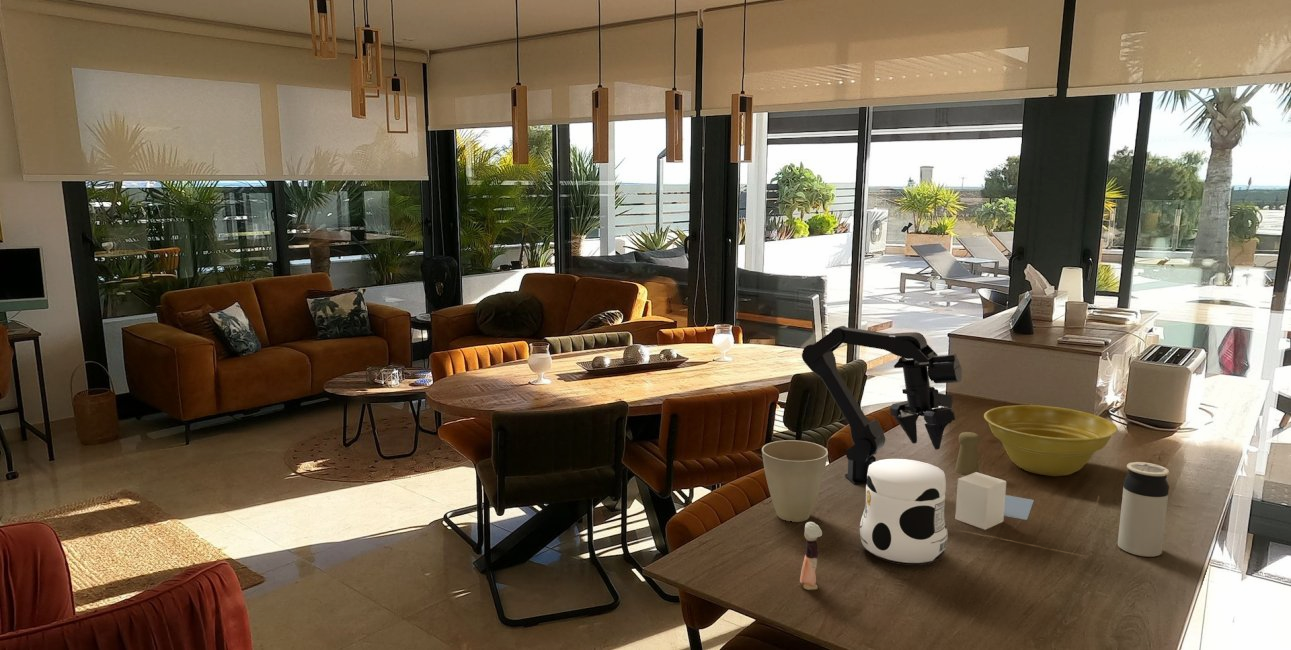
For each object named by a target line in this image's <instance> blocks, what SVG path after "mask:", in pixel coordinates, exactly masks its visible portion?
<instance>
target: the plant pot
mask: <svg viewBox="0 0 1291 650" xmlns="http://www.w3.org/2000/svg"><path fill="white" fill-rule="evenodd" d="M761 454H762V455H761V456H762V461H763V463H762V464H763V468H764V474H765V478H766V482H767V487H768V490H769V494H770V497H771V500H772V504H773V507H774V509H775V513H776V515H777V517H778V518H779V519H781V520H783V521H785V520H786V522H790V521H792V522H794V523H801V522H805V521H807V520H808V519H809V518H810V517H811V515H812V512H813V509H814V508H815V505H816V502H817V500H818V496H819V493H820V490H821V487H822V483H823V480H824V476H825V475H824V474H825V472H826V465H827V461H828V454H829V452H828V449H827V448H826V447H825V446H823V445H820V444H817V443H815V442H810V441H805V440H796V439H795V440H792V439H791V440H789V439H788V440H786V439H785V440H776V441H773V442H769V443H766V444H765V445H763V446H762V448H761Z"/></svg>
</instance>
